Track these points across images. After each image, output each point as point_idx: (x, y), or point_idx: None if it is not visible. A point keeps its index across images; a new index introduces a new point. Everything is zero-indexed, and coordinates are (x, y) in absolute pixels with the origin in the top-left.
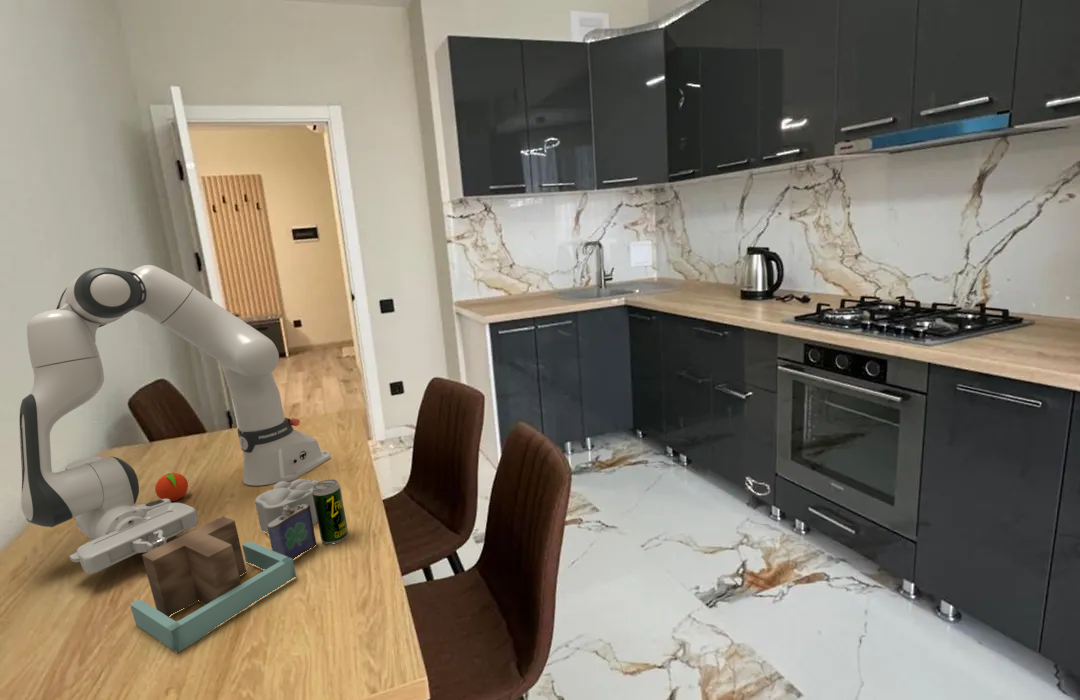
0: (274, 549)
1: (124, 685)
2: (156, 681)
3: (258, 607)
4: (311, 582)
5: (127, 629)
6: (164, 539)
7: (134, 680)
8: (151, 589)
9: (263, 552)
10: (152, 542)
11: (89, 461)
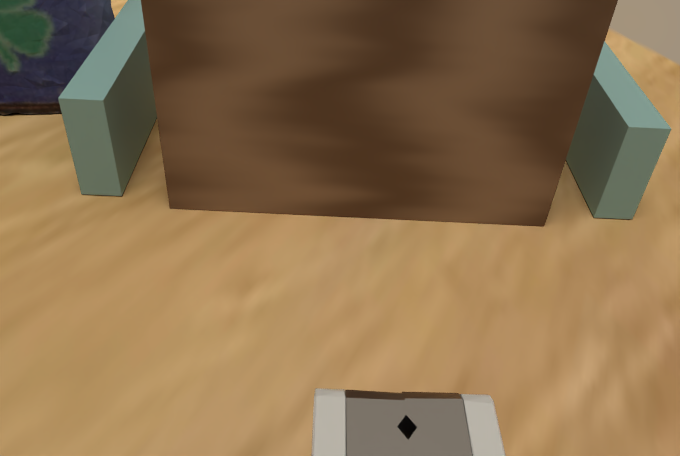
0: (111, 10)
1: (674, 71)
2: (605, 42)
3: None
4: None
5: (664, 224)
6: (327, 390)
7: (651, 68)
8: (575, 124)
9: (141, 23)
10: (446, 418)
11: None
